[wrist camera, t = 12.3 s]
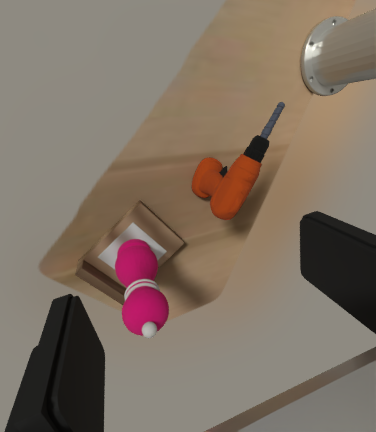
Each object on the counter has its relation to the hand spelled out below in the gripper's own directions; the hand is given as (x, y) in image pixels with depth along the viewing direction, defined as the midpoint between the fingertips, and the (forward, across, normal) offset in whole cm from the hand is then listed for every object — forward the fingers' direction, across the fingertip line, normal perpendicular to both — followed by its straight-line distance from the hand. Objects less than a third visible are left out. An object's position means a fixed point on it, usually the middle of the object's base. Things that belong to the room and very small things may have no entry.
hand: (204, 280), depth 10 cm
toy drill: (+36, -15, +3) cm, 40 cm away
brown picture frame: (+36, +4, +16) cm, 40 cm away
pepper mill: (+34, +4, +16) cm, 38 cm away
